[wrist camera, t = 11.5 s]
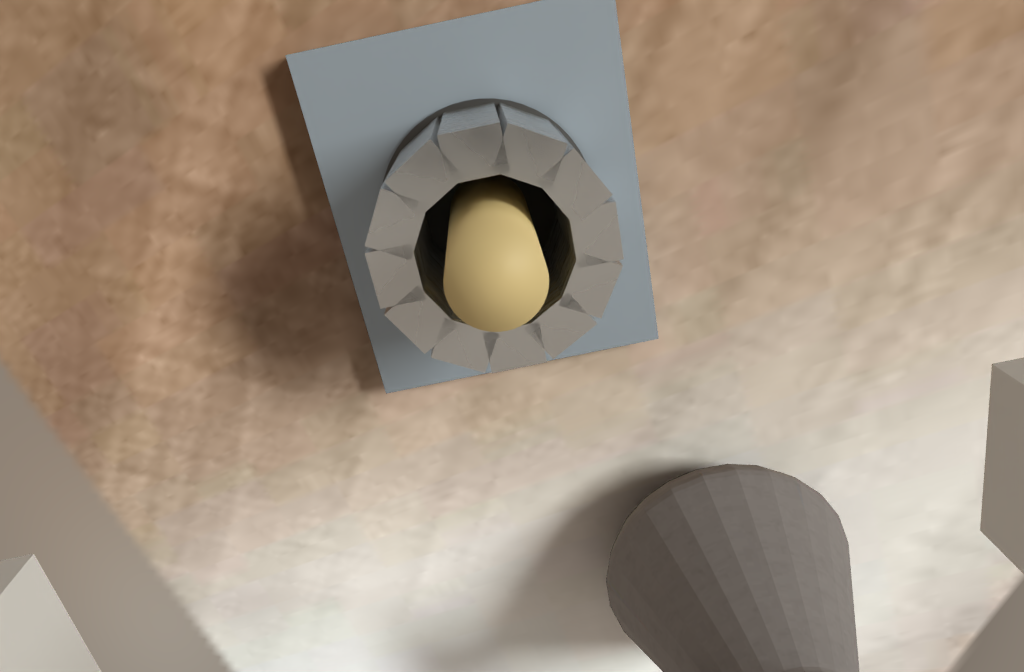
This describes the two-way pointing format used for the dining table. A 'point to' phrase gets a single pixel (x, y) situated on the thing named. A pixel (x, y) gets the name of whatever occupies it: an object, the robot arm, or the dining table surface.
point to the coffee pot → (736, 575)
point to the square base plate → (486, 201)
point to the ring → (568, 250)
